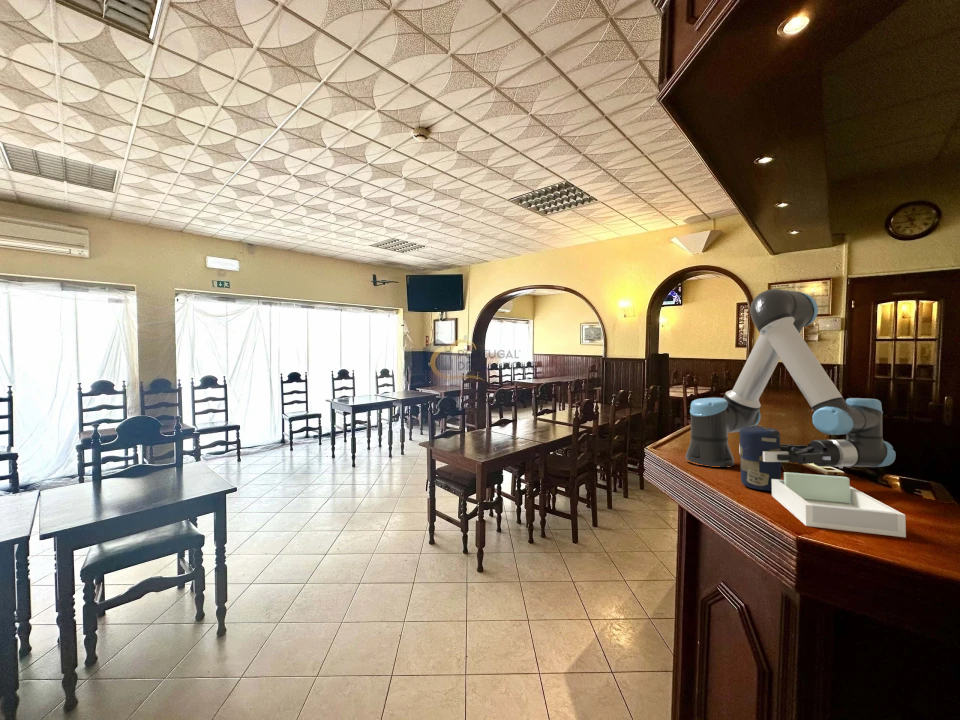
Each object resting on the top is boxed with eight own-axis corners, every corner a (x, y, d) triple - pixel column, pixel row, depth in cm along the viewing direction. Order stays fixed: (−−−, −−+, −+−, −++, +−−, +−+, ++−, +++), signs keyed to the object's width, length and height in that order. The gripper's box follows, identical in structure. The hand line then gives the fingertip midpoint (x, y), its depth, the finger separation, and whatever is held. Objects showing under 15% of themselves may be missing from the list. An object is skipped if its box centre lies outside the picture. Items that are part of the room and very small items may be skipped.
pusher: (784, 495, 102) (783, 472, 102) (846, 501, 98) (846, 476, 98) (786, 497, 101) (786, 473, 101) (849, 503, 96) (849, 478, 96)
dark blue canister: (767, 483, 117) (766, 422, 118) (790, 493, 108) (788, 427, 108) (734, 482, 118) (732, 422, 118) (753, 492, 109) (751, 427, 109)
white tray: (771, 495, 106) (771, 478, 106) (849, 503, 100) (848, 485, 100) (806, 525, 85) (805, 504, 85) (905, 537, 79) (905, 514, 80)
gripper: (868, 476, 102) (780, 476, 102) (799, 457, 124) (727, 457, 124) (867, 447, 102) (779, 447, 102) (799, 433, 124) (727, 433, 124)
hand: (751, 452), depth 113 cm, fingers closed on dark blue canister, 9 cm apart
